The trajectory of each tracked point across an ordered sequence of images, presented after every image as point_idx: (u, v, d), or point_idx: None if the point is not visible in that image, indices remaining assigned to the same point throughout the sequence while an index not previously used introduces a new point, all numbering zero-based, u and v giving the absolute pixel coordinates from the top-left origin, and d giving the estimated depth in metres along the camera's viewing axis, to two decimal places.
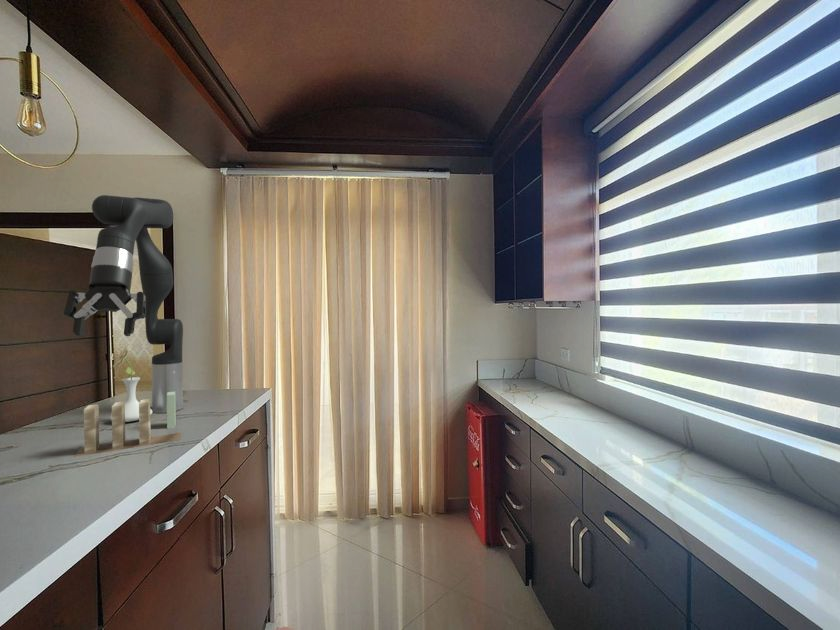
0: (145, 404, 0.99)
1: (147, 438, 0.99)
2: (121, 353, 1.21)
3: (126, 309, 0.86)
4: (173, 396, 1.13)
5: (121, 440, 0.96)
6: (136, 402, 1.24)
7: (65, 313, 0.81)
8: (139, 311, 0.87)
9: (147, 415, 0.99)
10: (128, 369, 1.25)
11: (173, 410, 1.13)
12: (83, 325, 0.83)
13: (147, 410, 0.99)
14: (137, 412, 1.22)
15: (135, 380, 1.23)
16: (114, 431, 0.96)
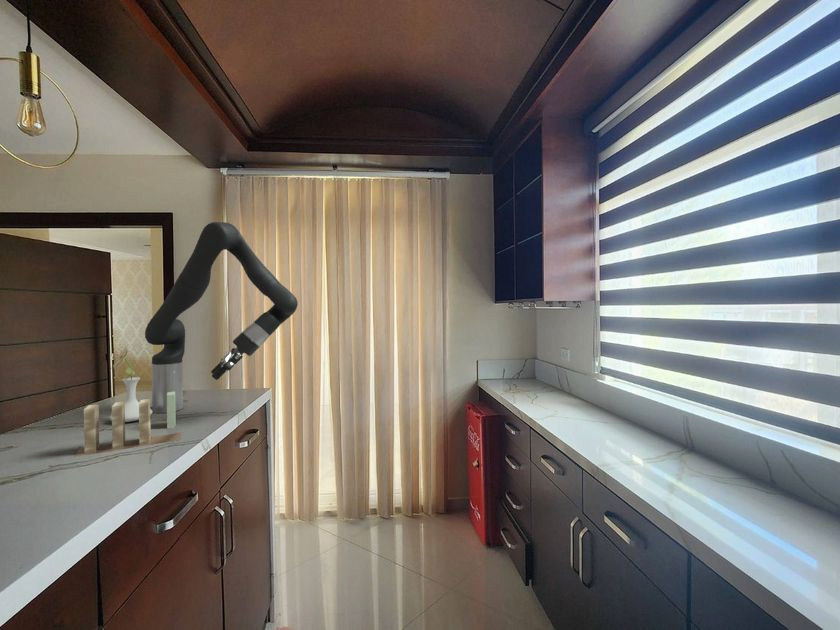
0: (145, 404, 0.99)
1: (147, 438, 0.99)
2: (121, 353, 1.21)
3: None
4: (173, 396, 1.13)
5: (121, 440, 0.96)
6: (136, 402, 1.24)
7: (230, 369, 1.17)
8: None
9: (147, 415, 0.99)
10: (128, 369, 1.25)
11: (173, 410, 1.13)
12: None
13: (147, 410, 0.99)
14: (137, 412, 1.22)
15: (135, 380, 1.23)
16: (114, 431, 0.96)
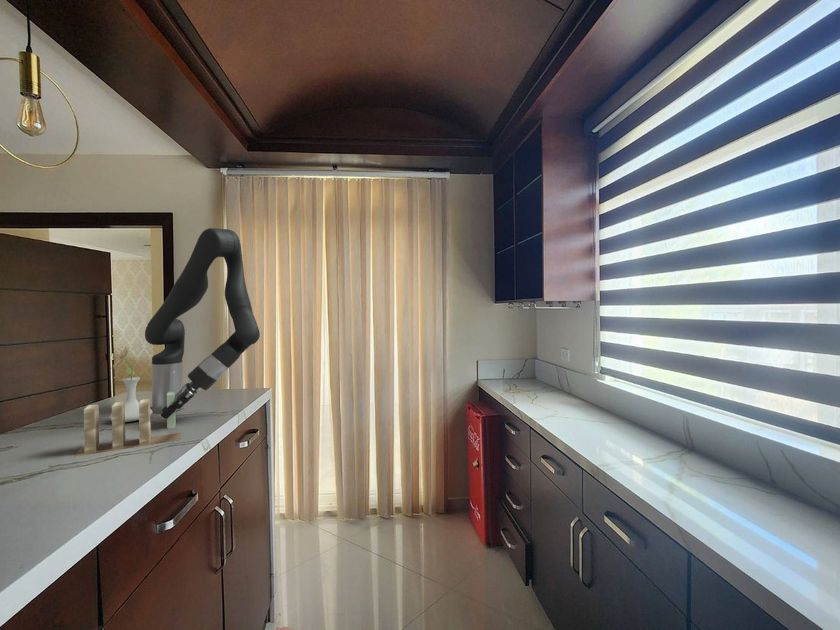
0: (145, 404, 0.99)
1: (147, 438, 0.99)
2: (121, 353, 1.21)
3: None
4: (173, 396, 1.13)
5: (121, 440, 0.96)
6: (136, 402, 1.24)
7: (180, 408, 1.12)
8: None
9: (147, 415, 0.99)
10: (128, 369, 1.25)
11: None
12: None
13: (147, 410, 0.99)
14: (137, 412, 1.22)
15: (135, 380, 1.23)
16: (114, 431, 0.96)
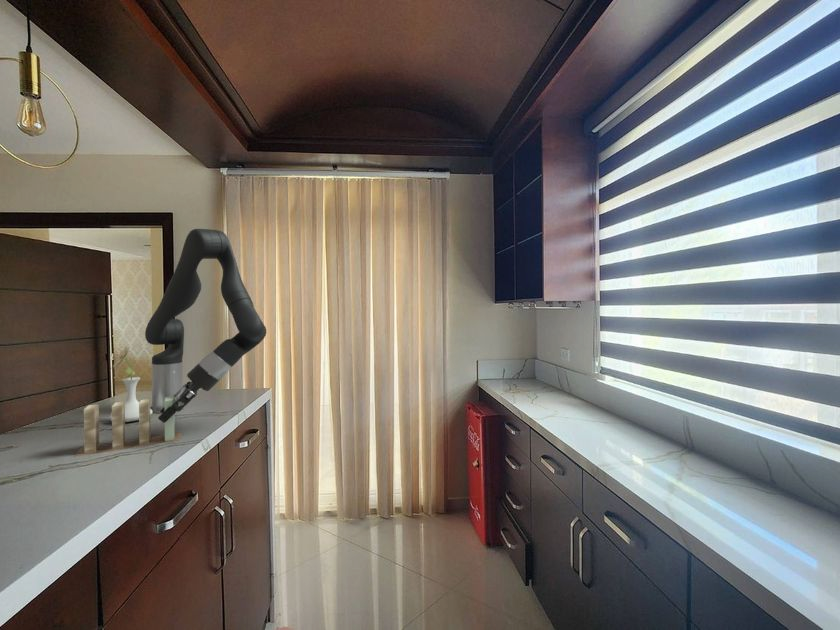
0: (145, 404, 0.99)
1: (147, 438, 0.99)
2: (121, 353, 1.21)
3: None
4: (171, 402, 1.02)
5: (121, 440, 0.96)
6: (136, 402, 1.24)
7: (180, 410, 1.00)
8: None
9: (147, 415, 0.99)
10: (128, 369, 1.25)
11: (171, 417, 1.02)
12: None
13: (147, 410, 0.99)
14: (137, 412, 1.22)
15: (135, 380, 1.23)
16: (114, 431, 0.96)
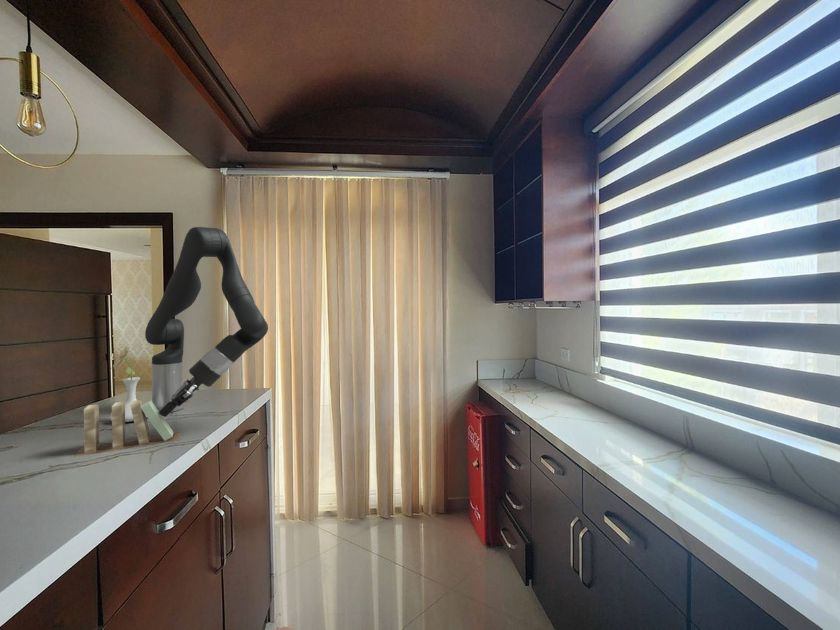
0: (137, 405, 0.98)
1: (146, 437, 0.99)
2: (121, 353, 1.21)
3: None
4: (149, 406, 0.99)
5: (121, 440, 0.96)
6: None
7: (180, 405, 1.03)
8: None
9: (140, 415, 0.98)
10: (128, 369, 1.25)
11: (158, 419, 1.00)
12: None
13: (140, 410, 0.98)
14: None
15: (135, 380, 1.23)
16: (114, 431, 0.96)
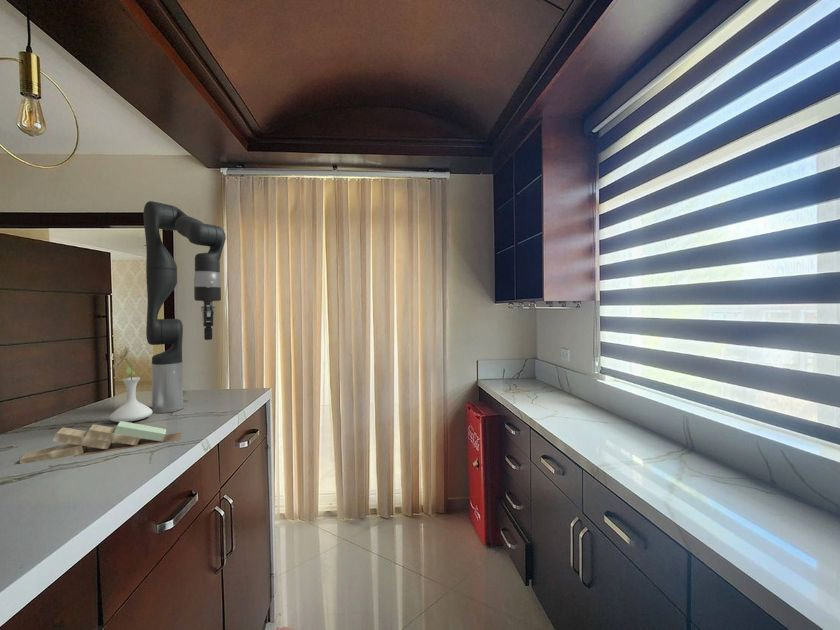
0: (89, 432, 0.93)
1: (133, 438, 0.98)
2: (121, 353, 1.21)
3: None
4: (119, 427, 0.96)
5: (101, 440, 0.94)
6: (136, 402, 1.24)
7: None
8: None
9: (104, 433, 0.95)
10: (128, 369, 1.25)
11: (138, 430, 0.98)
12: None
13: (98, 431, 0.94)
14: (137, 412, 1.22)
15: (135, 380, 1.23)
16: (86, 444, 0.93)
